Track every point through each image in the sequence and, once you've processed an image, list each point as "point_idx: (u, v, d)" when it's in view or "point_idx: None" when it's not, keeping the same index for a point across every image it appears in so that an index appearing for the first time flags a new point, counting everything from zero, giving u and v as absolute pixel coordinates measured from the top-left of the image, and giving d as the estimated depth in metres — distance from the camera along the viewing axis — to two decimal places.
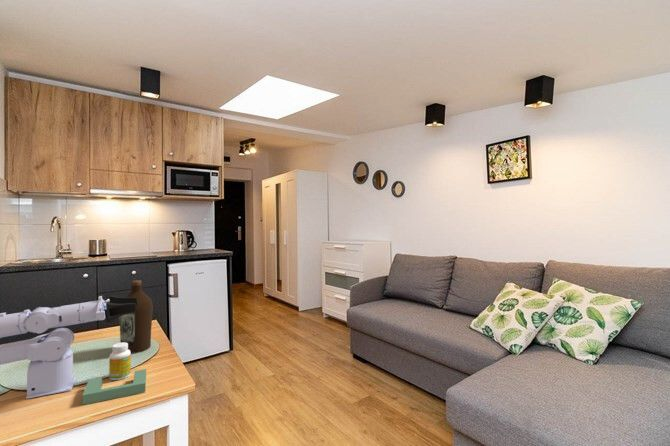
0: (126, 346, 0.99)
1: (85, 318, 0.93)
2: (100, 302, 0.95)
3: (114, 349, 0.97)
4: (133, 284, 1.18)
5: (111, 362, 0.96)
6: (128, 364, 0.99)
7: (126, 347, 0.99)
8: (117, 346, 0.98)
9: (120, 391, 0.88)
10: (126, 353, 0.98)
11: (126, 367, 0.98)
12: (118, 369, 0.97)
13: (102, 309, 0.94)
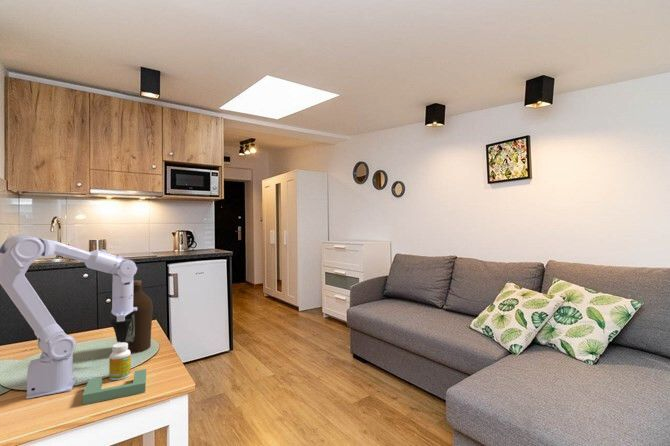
0: (126, 346, 0.99)
1: (117, 301, 1.02)
2: (131, 311, 1.05)
3: (114, 349, 0.97)
4: (133, 284, 1.18)
5: (111, 362, 0.96)
6: (128, 364, 0.99)
7: (126, 347, 0.99)
8: (117, 346, 0.98)
9: (120, 391, 0.88)
10: (126, 353, 0.98)
11: (126, 367, 0.98)
12: (118, 369, 0.97)
13: None
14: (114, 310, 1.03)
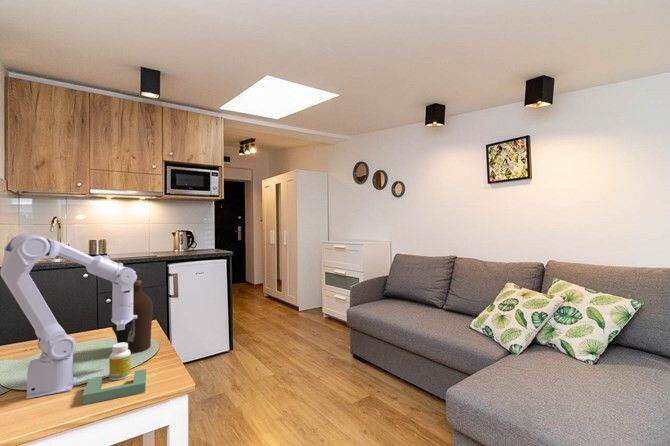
0: (126, 346, 0.99)
1: (117, 310, 1.03)
2: (131, 319, 1.05)
3: (114, 349, 0.97)
4: (133, 284, 1.18)
5: (111, 362, 0.96)
6: (128, 364, 0.99)
7: (126, 347, 0.99)
8: (117, 346, 0.98)
9: (120, 391, 0.88)
10: (126, 353, 0.98)
11: (126, 367, 0.98)
12: (118, 369, 0.97)
13: None
14: (114, 318, 1.03)
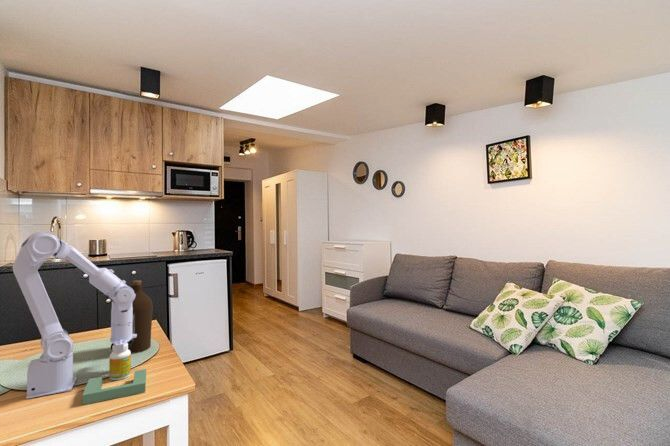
0: (126, 346, 0.99)
1: (116, 329, 1.00)
2: (131, 338, 1.03)
3: (114, 349, 0.97)
4: (133, 284, 1.18)
5: (111, 362, 0.96)
6: (128, 364, 0.99)
7: (126, 347, 0.99)
8: None
9: (120, 391, 0.88)
10: (126, 353, 0.98)
11: (126, 367, 0.98)
12: (118, 369, 0.97)
13: None
14: (113, 338, 1.00)
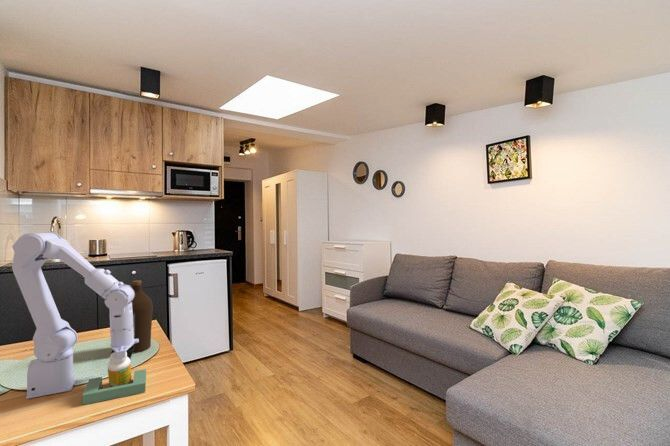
0: (124, 358, 0.91)
1: (116, 335, 0.93)
2: (132, 344, 0.96)
3: (111, 360, 0.90)
4: (133, 284, 1.18)
5: (108, 372, 0.91)
6: (127, 375, 0.92)
7: (124, 359, 0.91)
8: (114, 357, 0.90)
9: (120, 391, 0.88)
10: (123, 365, 0.91)
11: (124, 378, 0.92)
12: (115, 380, 0.91)
13: None
14: (113, 345, 0.93)
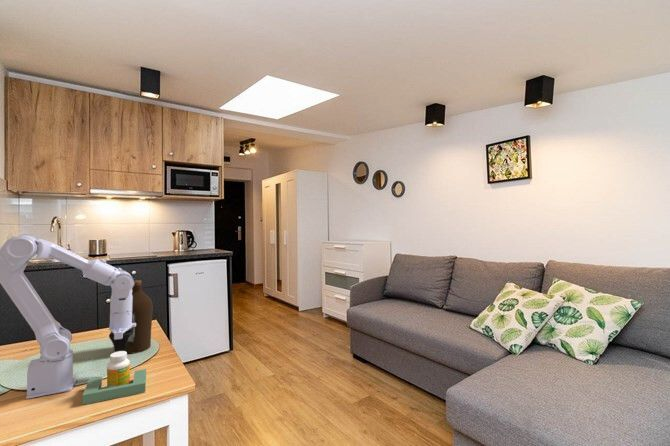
0: (124, 356, 0.92)
1: (115, 317, 0.98)
2: (130, 327, 1.00)
3: (111, 359, 0.90)
4: None
5: (107, 372, 0.90)
6: (126, 375, 0.92)
7: (124, 357, 0.92)
8: (114, 356, 0.91)
9: (120, 391, 0.88)
10: (123, 364, 0.91)
11: (123, 379, 0.91)
12: (114, 380, 0.90)
13: None
14: (112, 326, 0.98)
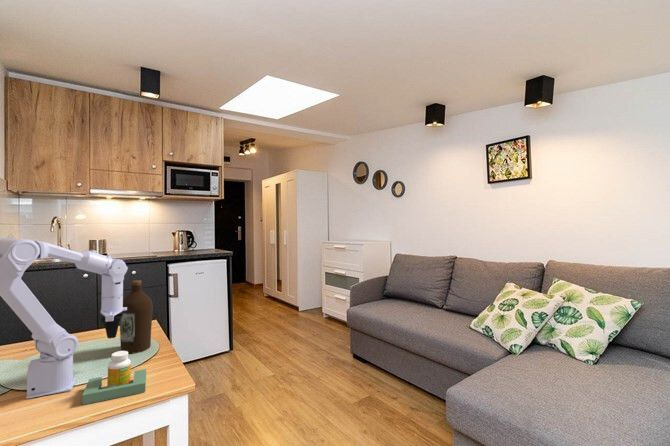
0: (125, 355, 0.92)
1: (106, 301, 1.02)
2: (121, 311, 1.05)
3: (112, 358, 0.91)
4: (133, 284, 1.18)
5: (108, 371, 0.90)
6: (126, 375, 0.92)
7: (125, 357, 0.92)
8: (116, 355, 0.91)
9: (120, 391, 0.88)
10: (124, 363, 0.92)
11: (123, 378, 0.91)
12: (114, 380, 0.90)
13: None
14: (103, 310, 1.02)
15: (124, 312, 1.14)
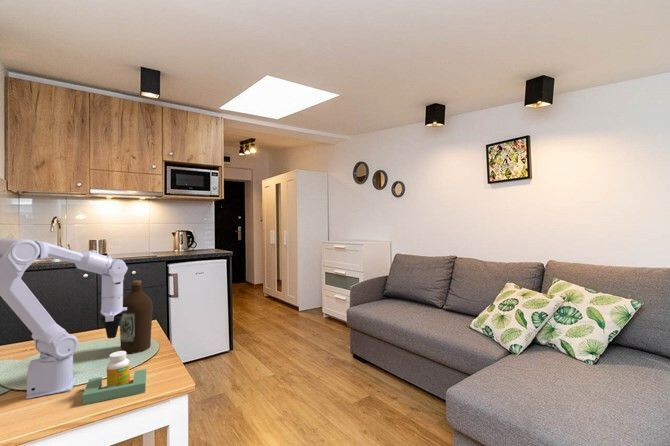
0: (123, 355, 0.92)
1: (106, 301, 1.02)
2: (121, 311, 1.05)
3: (110, 358, 0.91)
4: (133, 284, 1.18)
5: (107, 372, 0.90)
6: (125, 375, 0.92)
7: (123, 357, 0.92)
8: (114, 355, 0.91)
9: (120, 391, 0.88)
10: (123, 363, 0.91)
11: (123, 378, 0.91)
12: (114, 380, 0.90)
13: None
14: (103, 310, 1.02)
15: (124, 312, 1.14)
